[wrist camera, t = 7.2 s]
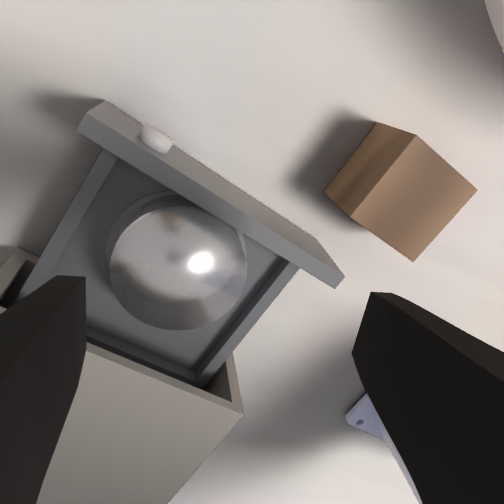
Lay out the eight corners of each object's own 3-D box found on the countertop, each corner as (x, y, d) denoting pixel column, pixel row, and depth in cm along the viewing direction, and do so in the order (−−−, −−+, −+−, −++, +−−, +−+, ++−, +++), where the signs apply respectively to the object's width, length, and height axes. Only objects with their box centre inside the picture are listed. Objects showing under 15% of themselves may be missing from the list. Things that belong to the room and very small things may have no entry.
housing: (231, 348, 23) (243, 414, 19) (141, 461, 26) (134, 541, 22) (17, 247, 19) (-30, 303, 14) (-65, 395, 21) (-126, 480, 17)
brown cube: (432, 169, 20) (477, 190, 17) (378, 232, 22) (413, 262, 18) (377, 122, 19) (416, 135, 16) (323, 191, 20) (349, 217, 17)
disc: (264, 238, 19) (273, 258, 17) (195, 323, 20) (196, 349, 18) (161, 169, 17) (159, 182, 15) (92, 268, 18) (82, 292, 16)
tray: (322, 231, 21) (352, 267, 17) (210, 372, 24) (216, 428, 20) (111, 89, 17) (93, 98, 13) (3, 281, 19) (-36, 332, 16)
